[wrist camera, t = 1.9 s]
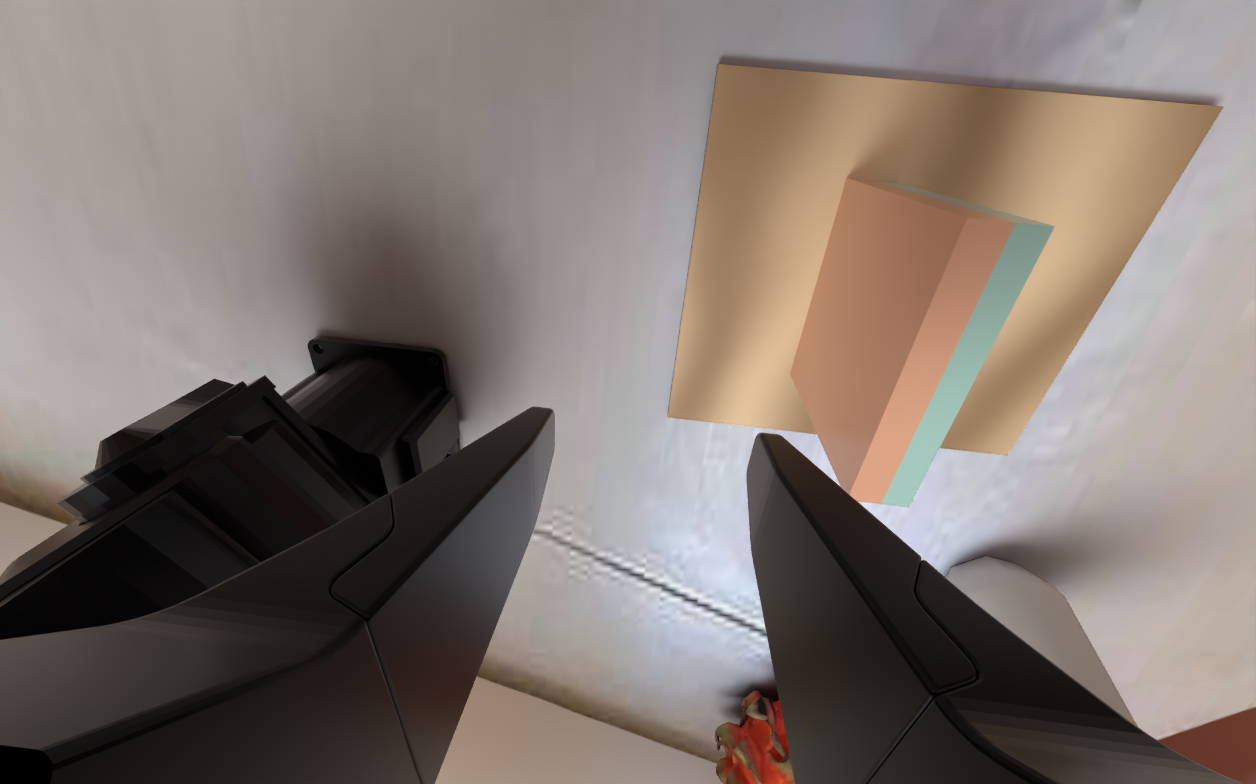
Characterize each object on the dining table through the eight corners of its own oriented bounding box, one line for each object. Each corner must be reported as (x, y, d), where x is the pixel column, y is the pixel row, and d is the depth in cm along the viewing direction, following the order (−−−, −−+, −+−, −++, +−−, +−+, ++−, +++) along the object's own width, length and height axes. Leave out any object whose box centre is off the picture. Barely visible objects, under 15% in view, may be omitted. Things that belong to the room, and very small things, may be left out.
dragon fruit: (715, 711, 39) (802, 620, 35) (800, 808, 36) (909, 720, 32) (668, 789, 32) (772, 686, 28) (770, 920, 28) (906, 824, 24)
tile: (789, 374, 21) (847, 499, 14) (846, 178, 17) (966, 217, 10) (830, 378, 21) (908, 507, 14) (897, 182, 17) (1055, 226, 10)
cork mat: (667, 412, 23) (667, 417, 22) (717, 65, 16) (718, 63, 15) (1002, 450, 22) (1007, 455, 22) (1210, 107, 15) (1224, 106, 15)
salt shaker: (1062, 572, 26) (1360, 918, 15) (977, 624, 29) (1172, 949, 17) (982, 531, 25) (1235, 868, 14) (902, 589, 28) (1057, 909, 16)
